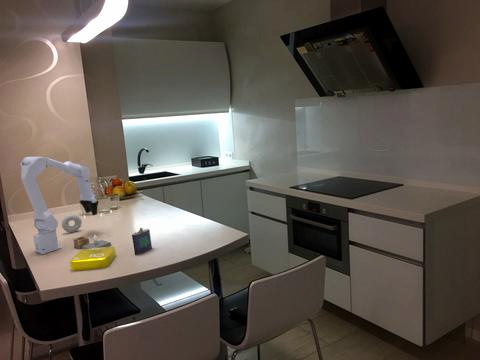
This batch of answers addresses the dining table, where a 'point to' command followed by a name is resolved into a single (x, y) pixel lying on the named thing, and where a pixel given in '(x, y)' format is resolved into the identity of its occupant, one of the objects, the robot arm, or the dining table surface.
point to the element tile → (93, 258)
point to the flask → (141, 241)
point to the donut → (69, 218)
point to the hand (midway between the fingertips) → (91, 213)
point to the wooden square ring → (80, 242)
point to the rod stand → (97, 244)
